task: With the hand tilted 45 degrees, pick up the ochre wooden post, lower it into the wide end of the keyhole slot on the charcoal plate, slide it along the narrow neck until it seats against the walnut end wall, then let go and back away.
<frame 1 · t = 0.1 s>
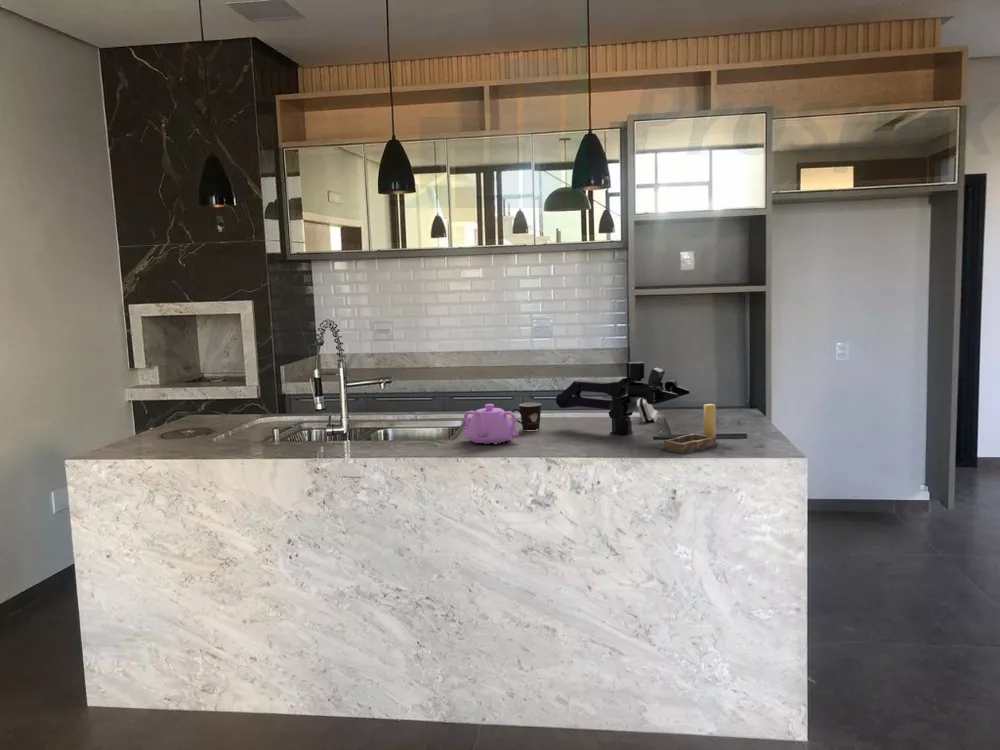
hand: (683, 393, 273), 17 cm above the counter, tool horizontal, fingers open, 9 cm apart
teapot: (488, 443, 284), on the counter
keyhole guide: (688, 447, 264), on the counter
peg: (709, 441, 272), on the counter
coffee mug: (527, 430, 304), on the counter
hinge: (647, 419, 317), on the counter
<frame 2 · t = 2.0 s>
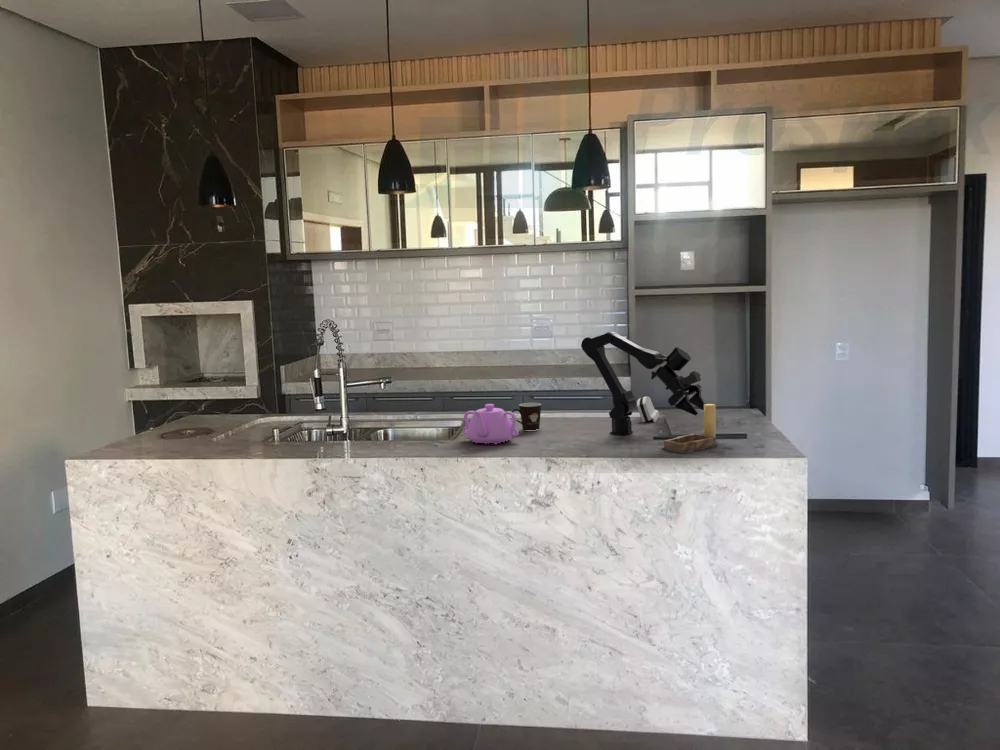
hand: (701, 412, 272), 10 cm above the counter, tool tilted 45°, fingers open, 9 cm apart
nothing on the counter moved.
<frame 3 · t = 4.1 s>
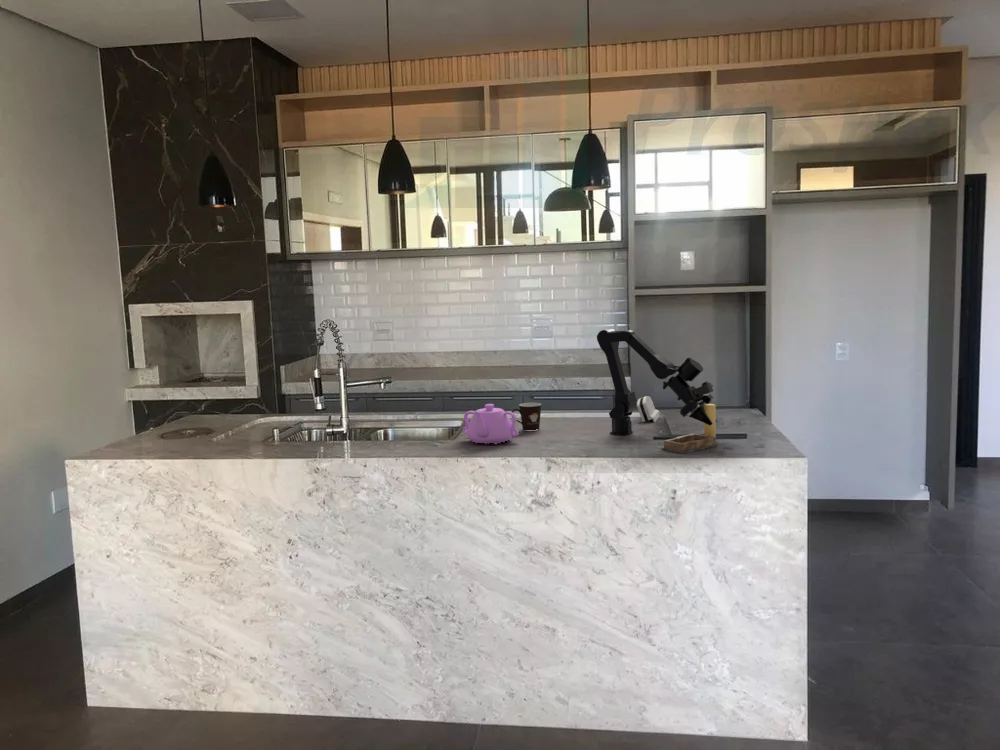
hand: (713, 423, 270), 7 cm above the counter, tool tilted 45°, fingers closed on peg, 4 cm apart
peg: (709, 441, 272), on the counter, touching gripper
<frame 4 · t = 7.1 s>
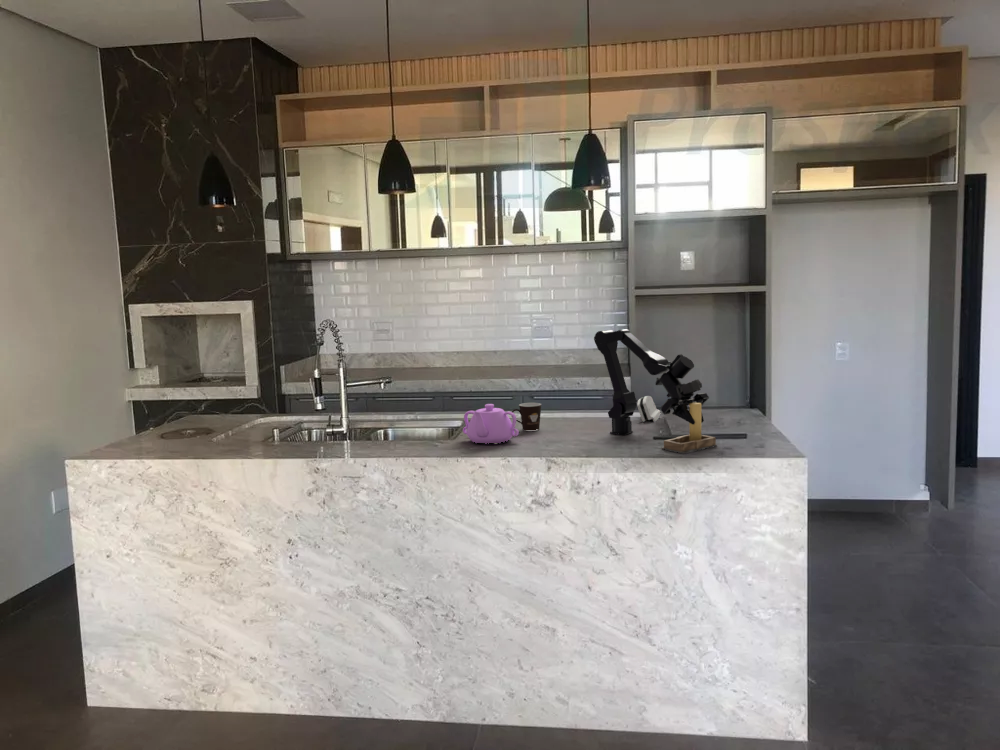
hand: (698, 422, 264), 8 cm above the counter, tool tilted 45°, fingers closed on peg, 4 cm apart
peg: (695, 441, 266), point 2 cm above the counter, touching gripper
when the fingers open (8 cm above the counter, at t = 10.1 s): peg stays where it is, resting on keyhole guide.
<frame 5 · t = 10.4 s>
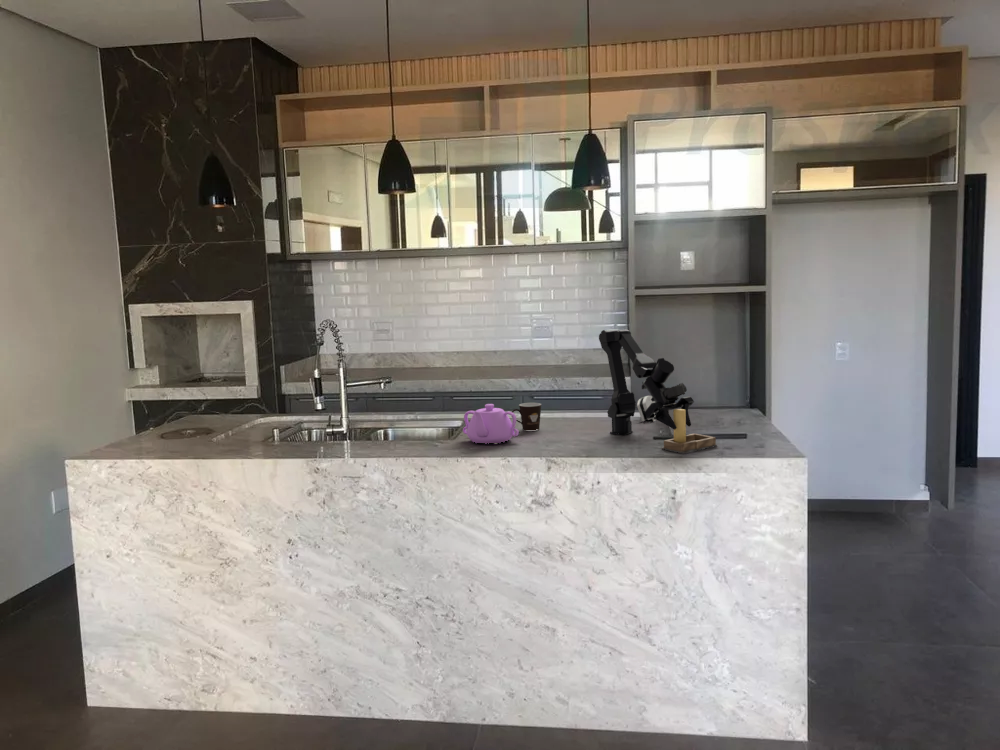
hand: (682, 427, 260), 8 cm above the counter, tool tilted 45°, fingers open, 7 cm apart
peg: (679, 448, 262), point 1 cm above the counter, touching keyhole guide
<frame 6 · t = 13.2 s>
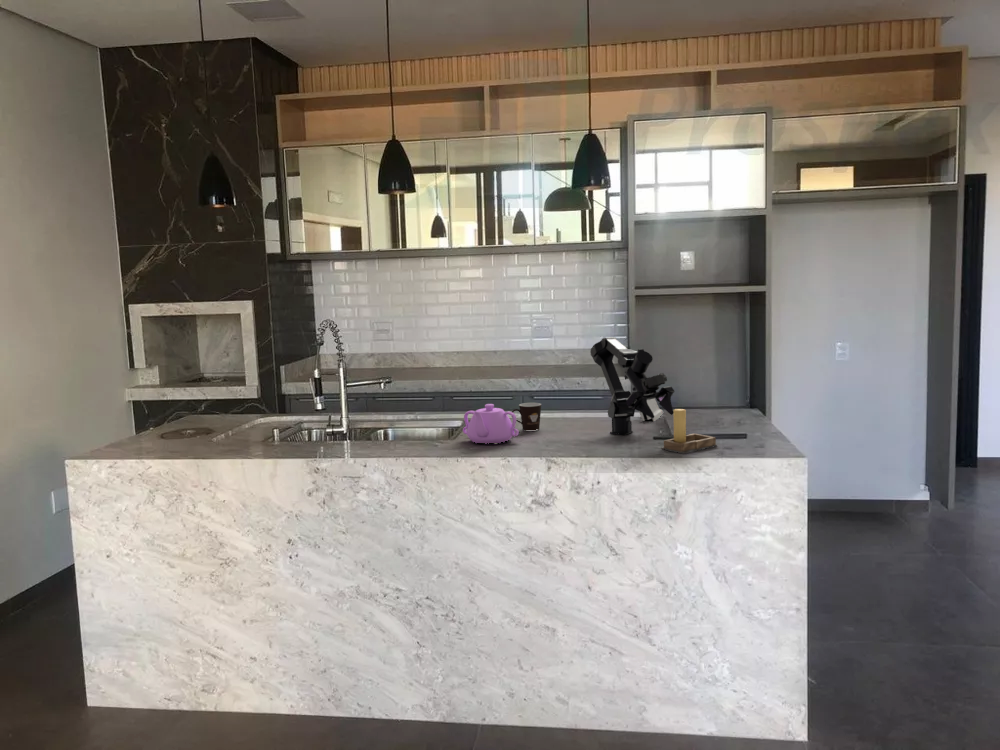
hand: (663, 415, 266), 11 cm above the counter, tool tilted 45°, fingers open, 9 cm apart
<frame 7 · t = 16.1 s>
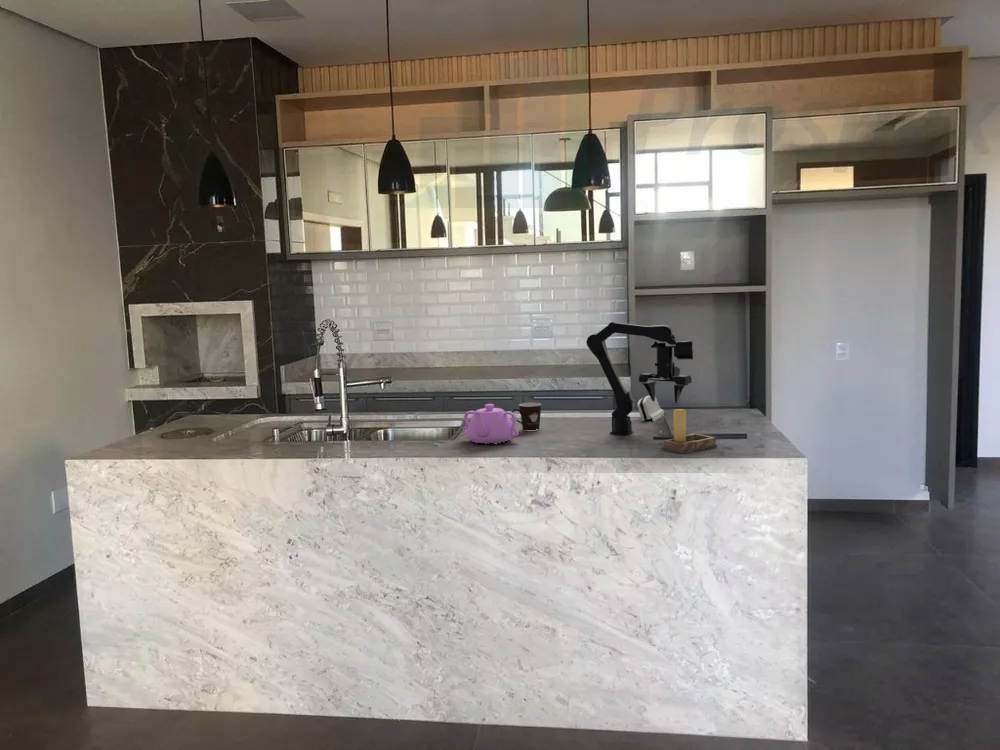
hand: (664, 402, 285), 12 cm above the counter, tool pointing down, fingers open, 9 cm apart
at the end: peg 0.2 cm from the target spot, point 0.5 cm above the counter; peg tilted 0°; the gripper is holding nothing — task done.
